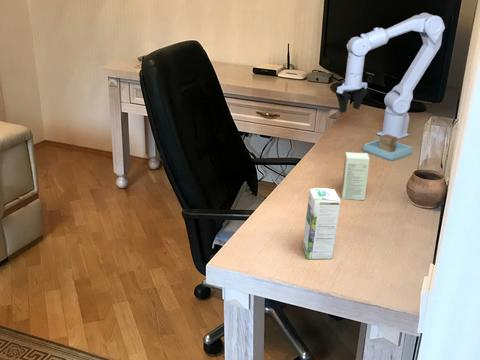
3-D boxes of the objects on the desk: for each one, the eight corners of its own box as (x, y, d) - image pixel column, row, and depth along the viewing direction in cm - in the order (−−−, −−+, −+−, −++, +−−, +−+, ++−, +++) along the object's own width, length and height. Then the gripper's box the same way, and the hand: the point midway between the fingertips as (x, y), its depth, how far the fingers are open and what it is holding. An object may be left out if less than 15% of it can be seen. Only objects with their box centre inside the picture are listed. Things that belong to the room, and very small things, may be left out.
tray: (383, 144, 186) (384, 137, 185) (411, 154, 178) (413, 147, 177) (362, 151, 178) (363, 144, 177) (391, 161, 171) (393, 154, 170)
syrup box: (301, 246, 119) (307, 187, 113) (327, 246, 120) (334, 187, 114) (306, 259, 114) (313, 199, 108) (333, 259, 114) (341, 199, 109)
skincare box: (363, 194, 146) (369, 153, 141) (364, 200, 142) (371, 158, 137) (339, 192, 147) (345, 151, 142) (340, 199, 143) (346, 156, 138)
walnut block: (384, 147, 181) (387, 133, 179) (395, 151, 178) (397, 137, 176) (378, 150, 178) (380, 136, 176) (388, 153, 175) (390, 139, 173)
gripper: (357, 68, 191) (353, 104, 197) (332, 72, 183) (327, 110, 188) (374, 72, 187) (368, 109, 192) (348, 76, 178) (343, 115, 183)
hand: (349, 110), depth 190 cm, fingers open, 7 cm apart
